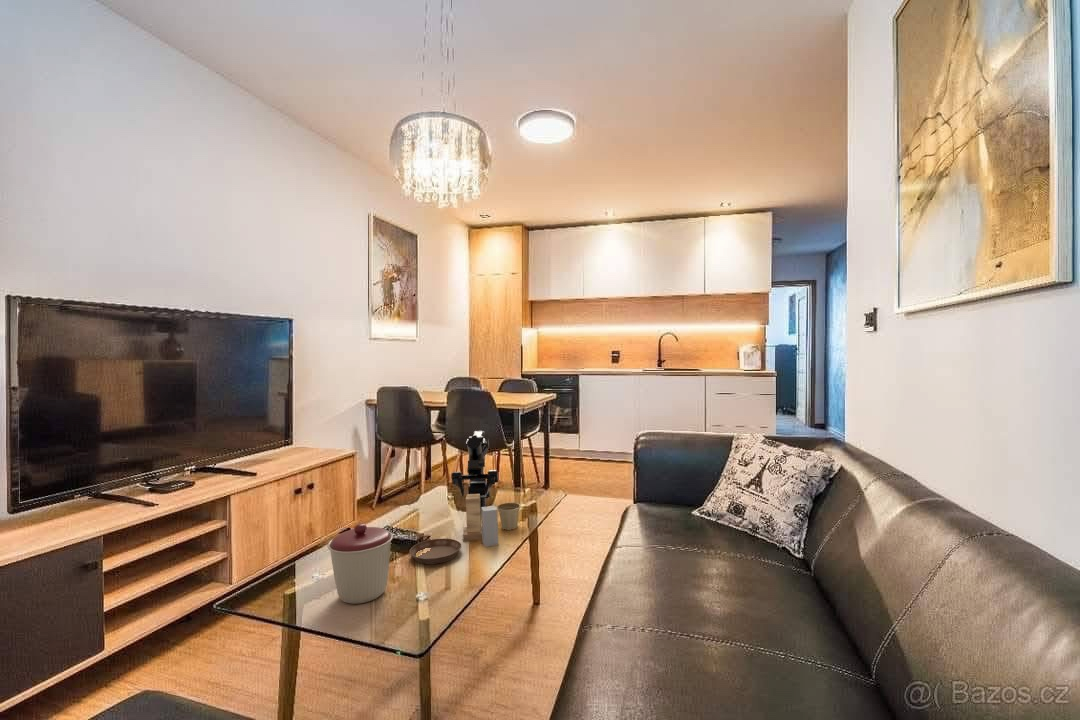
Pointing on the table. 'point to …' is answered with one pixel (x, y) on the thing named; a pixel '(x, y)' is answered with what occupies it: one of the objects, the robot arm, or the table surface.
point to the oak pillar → (473, 513)
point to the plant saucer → (436, 550)
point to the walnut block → (471, 535)
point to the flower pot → (509, 515)
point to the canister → (361, 563)
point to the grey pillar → (489, 526)
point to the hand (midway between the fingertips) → (474, 496)
